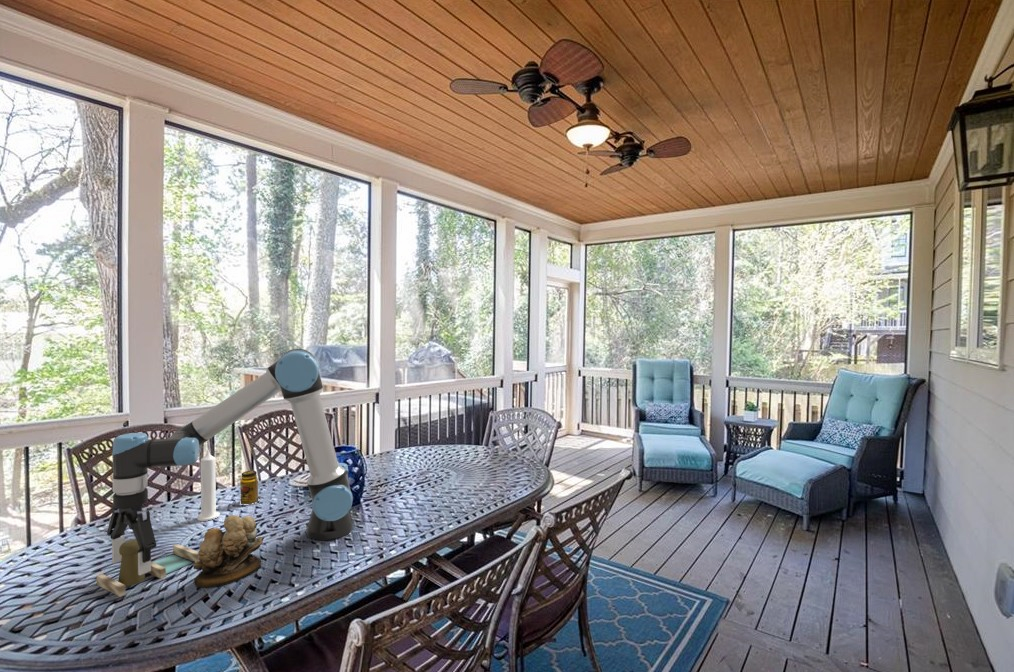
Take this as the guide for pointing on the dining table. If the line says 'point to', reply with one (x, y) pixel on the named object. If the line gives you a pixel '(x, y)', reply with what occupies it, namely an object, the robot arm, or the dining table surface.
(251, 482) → the condiment
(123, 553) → the olive pawn
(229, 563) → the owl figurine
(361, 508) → the dining table surface
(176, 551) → the notched rack
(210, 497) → the candle
